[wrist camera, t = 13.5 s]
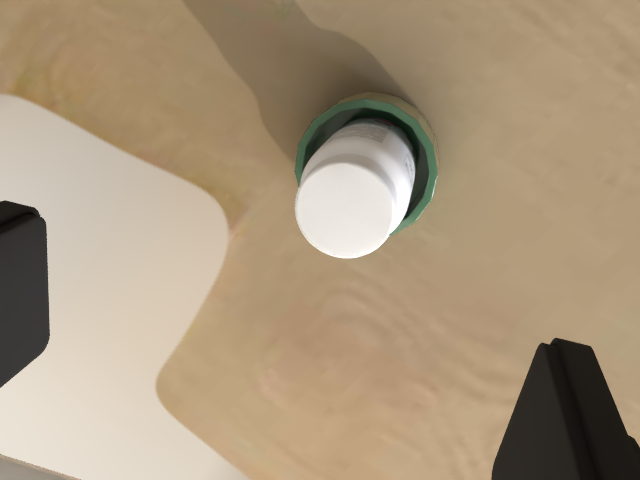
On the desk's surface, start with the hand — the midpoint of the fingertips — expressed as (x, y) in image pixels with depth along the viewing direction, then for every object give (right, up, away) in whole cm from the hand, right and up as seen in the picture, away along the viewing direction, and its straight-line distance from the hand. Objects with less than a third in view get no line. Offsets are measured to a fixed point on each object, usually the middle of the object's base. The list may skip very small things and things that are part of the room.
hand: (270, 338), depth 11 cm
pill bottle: (+4, +6, +20) cm, 21 cm away
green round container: (+4, +6, +20) cm, 21 cm away
